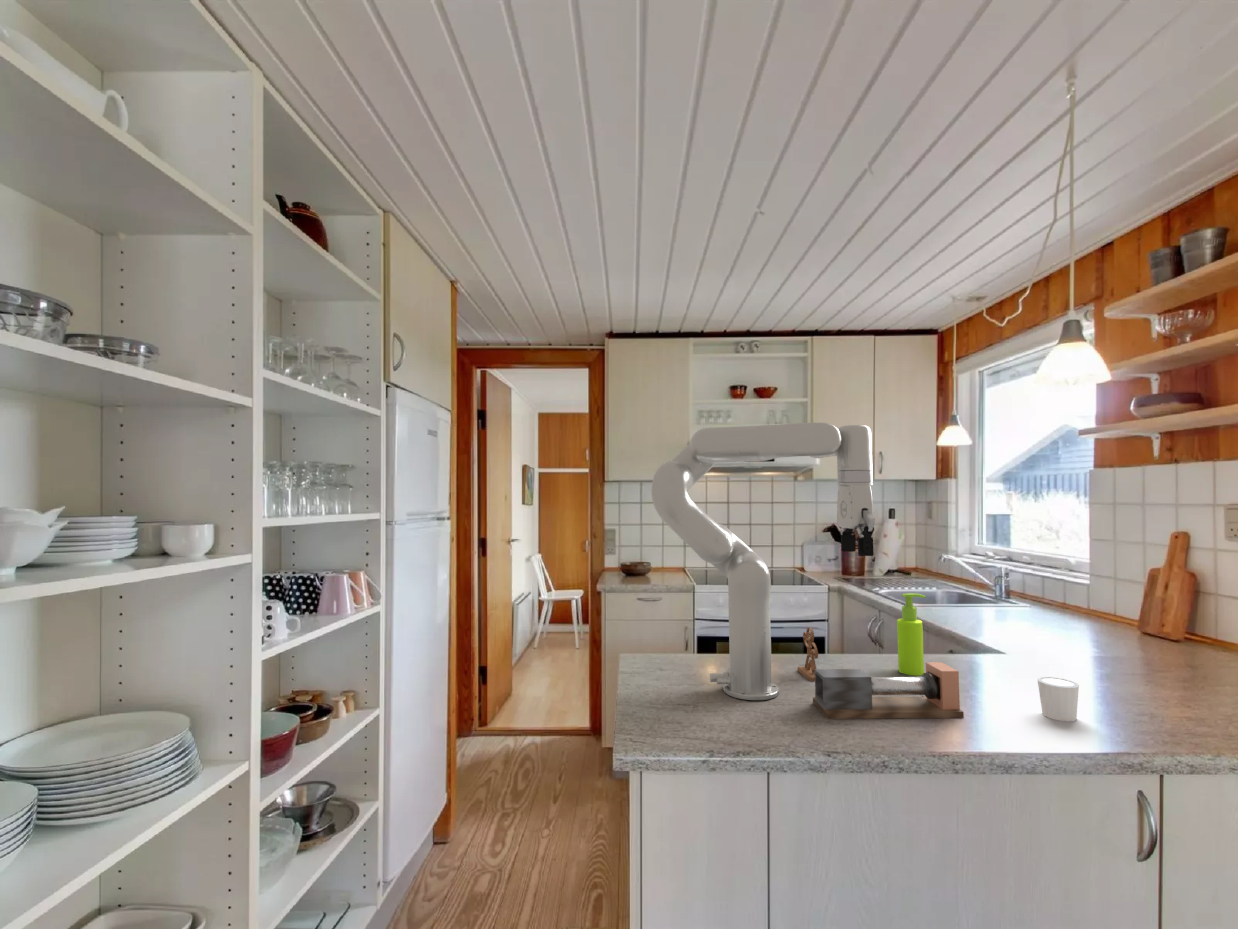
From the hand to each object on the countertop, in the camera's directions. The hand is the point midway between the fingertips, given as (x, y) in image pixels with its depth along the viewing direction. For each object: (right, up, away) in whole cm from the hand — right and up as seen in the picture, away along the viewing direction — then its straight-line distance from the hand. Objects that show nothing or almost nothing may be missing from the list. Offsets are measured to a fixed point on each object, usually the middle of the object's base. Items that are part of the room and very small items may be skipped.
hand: (856, 553), depth 134 cm
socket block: (+14, -31, -10) cm, 35 cm away
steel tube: (+5, -29, -9) cm, 31 cm away
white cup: (+36, -32, -14) cm, 50 cm away
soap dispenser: (+21, -33, +16) cm, 43 cm away
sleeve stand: (+2, -32, -10) cm, 33 cm away
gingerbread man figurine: (-6, -33, +14) cm, 37 cm away
